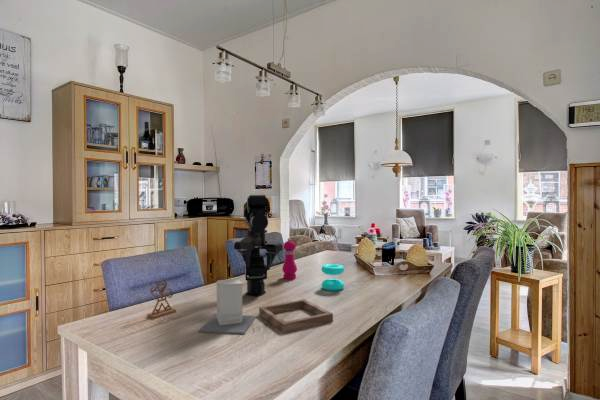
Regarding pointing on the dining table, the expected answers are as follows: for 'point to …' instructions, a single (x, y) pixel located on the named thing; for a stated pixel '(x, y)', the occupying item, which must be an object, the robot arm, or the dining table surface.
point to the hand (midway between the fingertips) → (257, 268)
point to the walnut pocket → (319, 318)
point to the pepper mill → (289, 260)
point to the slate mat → (227, 326)
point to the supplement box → (229, 301)
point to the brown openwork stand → (166, 310)
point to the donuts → (332, 283)
